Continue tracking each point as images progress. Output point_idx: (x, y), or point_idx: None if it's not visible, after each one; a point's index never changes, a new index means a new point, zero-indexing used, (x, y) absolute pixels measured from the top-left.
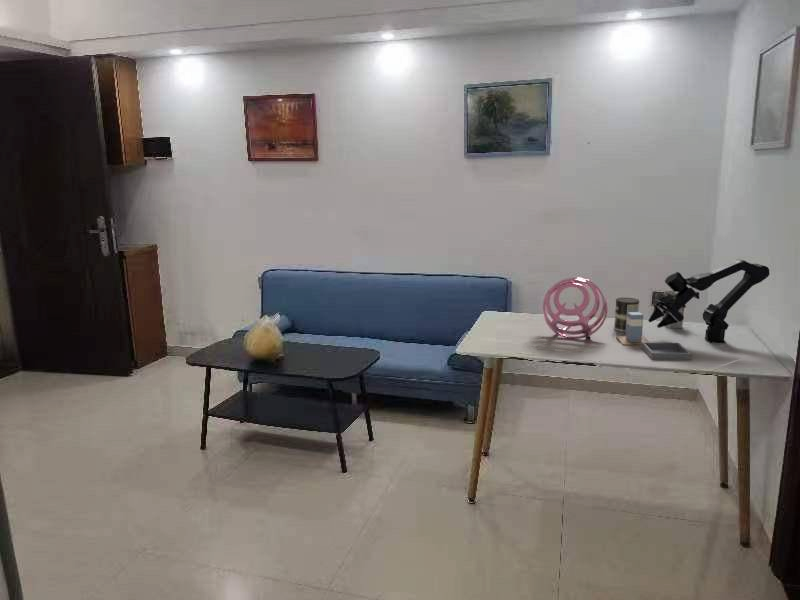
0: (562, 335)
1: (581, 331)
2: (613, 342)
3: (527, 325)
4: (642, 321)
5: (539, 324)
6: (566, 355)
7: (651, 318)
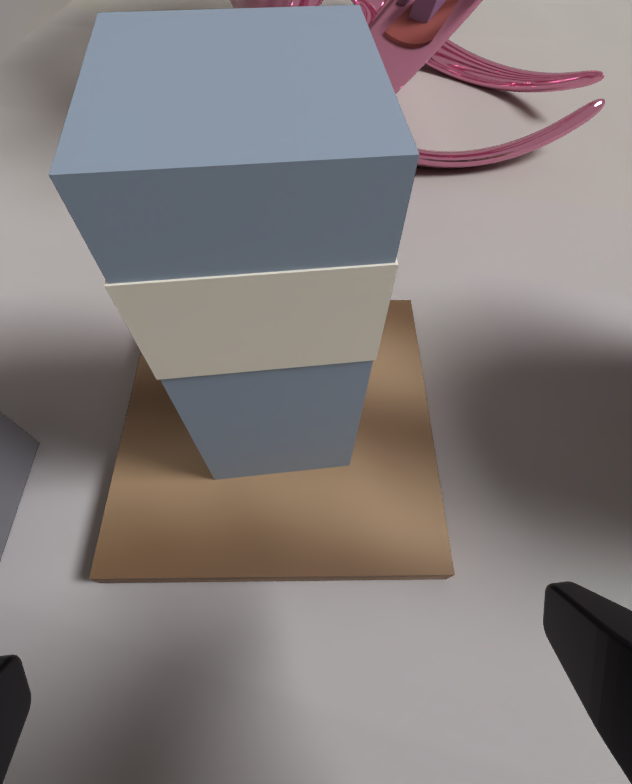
0: None
1: None
2: None
3: (577, 3)
4: (124, 309)
5: (624, 33)
6: (32, 58)
7: (613, 664)
